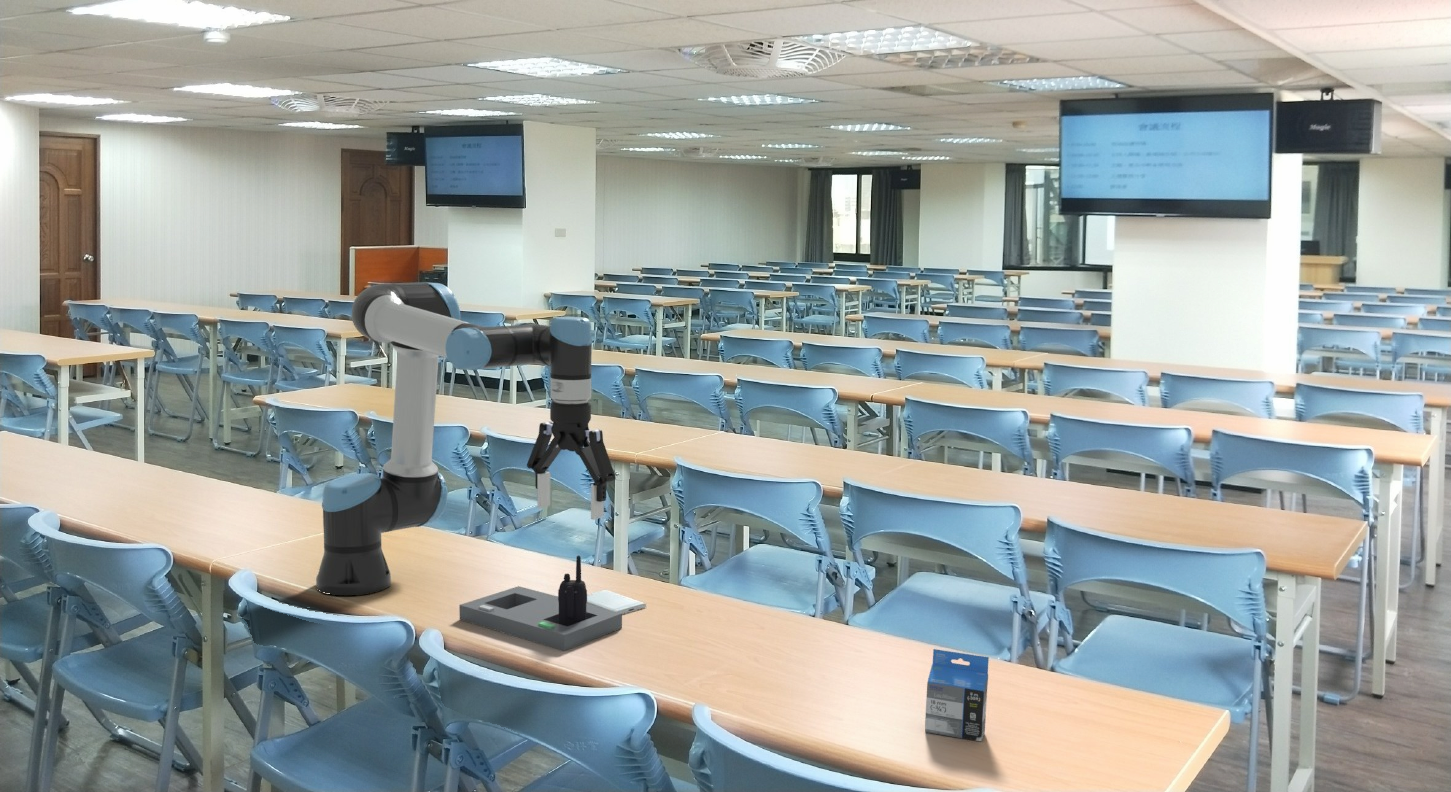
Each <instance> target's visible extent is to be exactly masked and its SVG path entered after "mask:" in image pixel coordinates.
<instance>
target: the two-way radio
mask: <svg viewBox="0 0 1451 792" xmlns="http://www.w3.org/2000/svg"><path fill="white" fill-rule="evenodd" d="M575 562H576V563H575V565H576V566H575V579H571V576H570V574H569V573H564V576H563V580H562V581H561V583H560V585H559V587H558V591H557V596H558V601H559V624H561V625H564V626H570V625H573V624H576V623H579V622H581V621H584V620H586V603H587V595H588V590H587V585H586V582H585V581H583V580H582V560H581V555H577V556H576V561H575Z"/></svg>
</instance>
